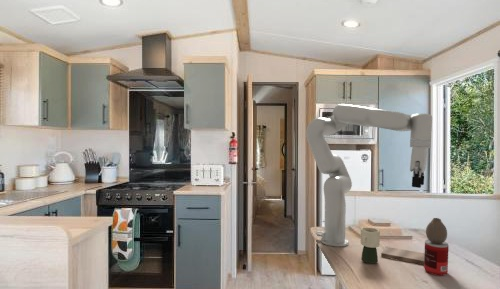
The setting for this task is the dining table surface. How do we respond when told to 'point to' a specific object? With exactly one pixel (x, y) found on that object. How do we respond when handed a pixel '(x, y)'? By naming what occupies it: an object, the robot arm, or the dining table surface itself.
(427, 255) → the canned food
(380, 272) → the dining table surface
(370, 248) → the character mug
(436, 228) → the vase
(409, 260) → the walnut board
